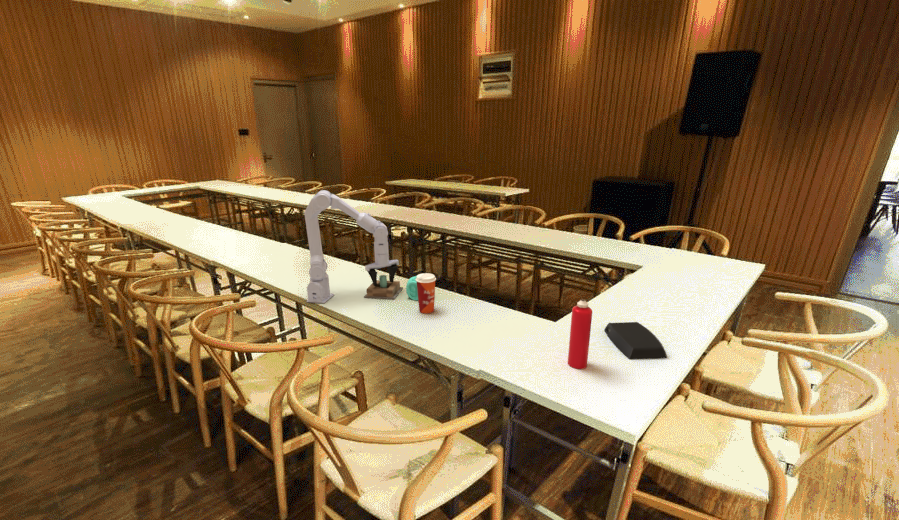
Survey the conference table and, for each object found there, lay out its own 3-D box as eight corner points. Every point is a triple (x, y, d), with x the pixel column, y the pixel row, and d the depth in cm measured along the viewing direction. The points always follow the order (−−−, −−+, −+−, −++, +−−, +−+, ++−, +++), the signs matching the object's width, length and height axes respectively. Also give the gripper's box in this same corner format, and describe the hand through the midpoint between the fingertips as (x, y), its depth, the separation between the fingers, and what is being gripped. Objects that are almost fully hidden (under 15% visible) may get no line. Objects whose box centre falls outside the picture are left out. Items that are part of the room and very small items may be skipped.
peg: (386, 293, 176) (385, 277, 174) (379, 292, 176) (378, 277, 174) (388, 290, 179) (387, 275, 177) (381, 290, 179) (380, 274, 177)
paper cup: (427, 316, 155) (427, 280, 151) (412, 311, 159) (411, 276, 155) (441, 309, 161) (440, 275, 156) (425, 304, 165) (424, 271, 161)
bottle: (565, 365, 121) (570, 301, 116) (571, 357, 126) (576, 295, 120) (583, 371, 119) (590, 305, 113) (589, 362, 123) (595, 299, 117)
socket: (394, 299, 170) (393, 291, 169) (363, 298, 173) (363, 289, 171) (402, 288, 183) (402, 280, 182) (374, 286, 185) (374, 279, 184)
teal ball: (432, 295, 175) (432, 277, 173) (423, 302, 168) (422, 283, 166) (415, 292, 178) (415, 274, 176) (406, 299, 171) (405, 280, 169)
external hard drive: (639, 330, 143) (640, 319, 142) (669, 359, 125) (671, 347, 124) (601, 331, 143) (602, 320, 142) (626, 360, 125) (627, 348, 123)
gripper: (392, 247, 179) (394, 277, 183) (361, 253, 171) (363, 284, 175) (400, 251, 174) (402, 282, 178) (368, 257, 166) (370, 289, 170)
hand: (383, 283), depth 176 cm, fingers open, 7 cm apart
